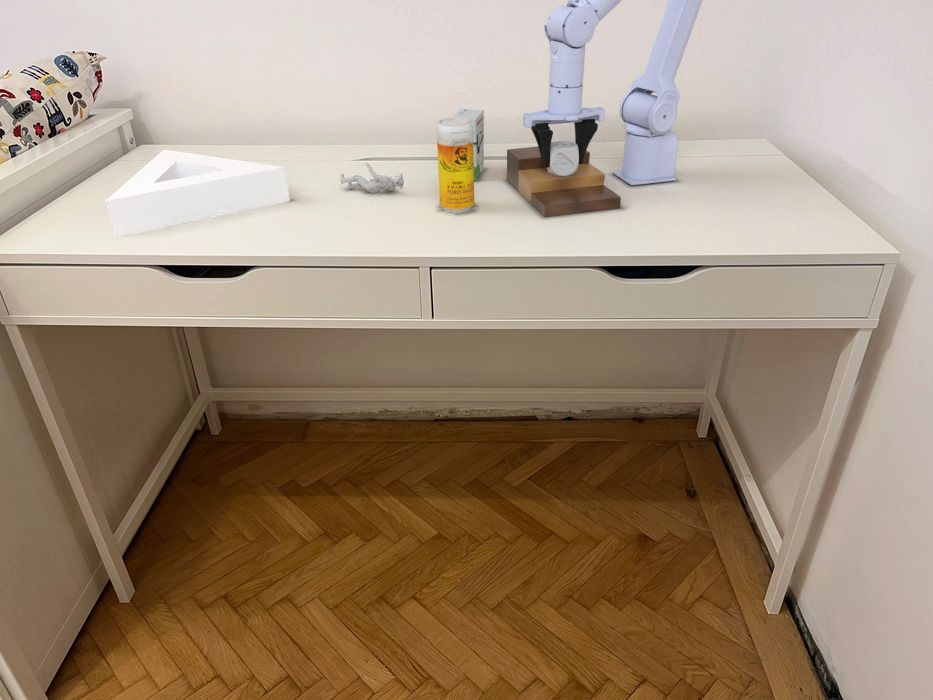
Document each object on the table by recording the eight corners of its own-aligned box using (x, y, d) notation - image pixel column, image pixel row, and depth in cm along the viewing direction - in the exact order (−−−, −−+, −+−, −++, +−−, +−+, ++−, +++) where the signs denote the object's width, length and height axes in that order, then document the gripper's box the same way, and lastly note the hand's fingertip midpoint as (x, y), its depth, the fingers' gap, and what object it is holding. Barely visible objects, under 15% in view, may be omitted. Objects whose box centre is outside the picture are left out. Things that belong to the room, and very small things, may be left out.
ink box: (476, 181, 135) (476, 118, 128) (452, 180, 136) (450, 118, 129) (484, 168, 142) (484, 108, 136) (461, 167, 143) (459, 107, 137)
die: (577, 176, 124) (579, 147, 121) (549, 176, 123) (551, 148, 121) (573, 167, 128) (574, 140, 125) (546, 168, 128) (547, 141, 125)
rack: (573, 173, 138) (575, 142, 135) (620, 208, 121) (623, 174, 118) (506, 180, 135) (506, 149, 132) (544, 217, 118) (545, 182, 115)
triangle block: (116, 238, 114) (104, 201, 110) (90, 196, 132) (80, 163, 129) (290, 201, 127) (284, 167, 124) (244, 167, 146) (239, 137, 143)
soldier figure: (357, 188, 136) (412, 172, 131) (357, 210, 134) (412, 195, 130) (335, 168, 129) (391, 151, 125) (335, 192, 127) (392, 175, 123)
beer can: (449, 216, 119) (446, 127, 111) (434, 205, 124) (430, 119, 116) (480, 209, 121) (479, 122, 113) (464, 199, 126) (462, 114, 118)
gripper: (533, 92, 113) (531, 174, 120) (615, 86, 116) (608, 166, 123) (519, 84, 119) (518, 163, 126) (597, 78, 122) (592, 155, 129)
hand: (561, 164), depth 125 cm, fingers closed on die, 6 cm apart
